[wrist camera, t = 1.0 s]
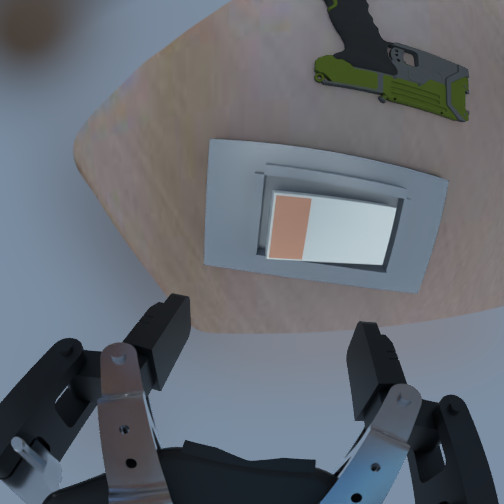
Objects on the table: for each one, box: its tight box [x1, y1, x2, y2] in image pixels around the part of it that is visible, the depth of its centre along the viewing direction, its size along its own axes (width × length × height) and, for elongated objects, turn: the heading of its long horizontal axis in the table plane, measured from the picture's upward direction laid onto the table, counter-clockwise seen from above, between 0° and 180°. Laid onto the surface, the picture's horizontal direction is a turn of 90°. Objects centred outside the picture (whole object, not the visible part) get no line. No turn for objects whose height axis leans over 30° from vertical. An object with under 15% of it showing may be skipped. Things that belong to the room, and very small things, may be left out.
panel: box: [204, 139, 449, 294], centre depth 27 cm, size 26×14×4 cm, turn 85°
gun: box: [314, 0, 469, 122], centre depth 20 cm, size 2×19×15 cm
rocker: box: [265, 190, 396, 265], centre depth 24 cm, size 12×6×1 cm, turn 85°
